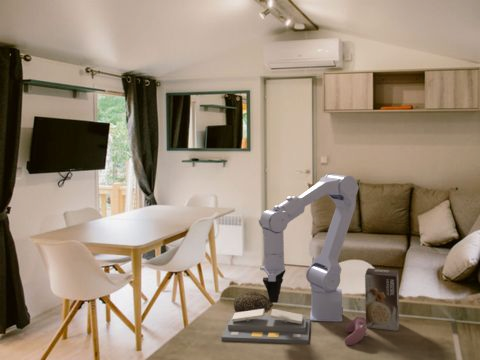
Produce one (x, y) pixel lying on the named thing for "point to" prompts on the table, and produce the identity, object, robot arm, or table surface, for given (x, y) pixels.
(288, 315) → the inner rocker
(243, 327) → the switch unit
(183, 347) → the table surface
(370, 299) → the coffee box
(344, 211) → the robot arm
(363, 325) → the pink curved piece
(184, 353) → the table surface
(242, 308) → the bread roll
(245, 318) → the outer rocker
